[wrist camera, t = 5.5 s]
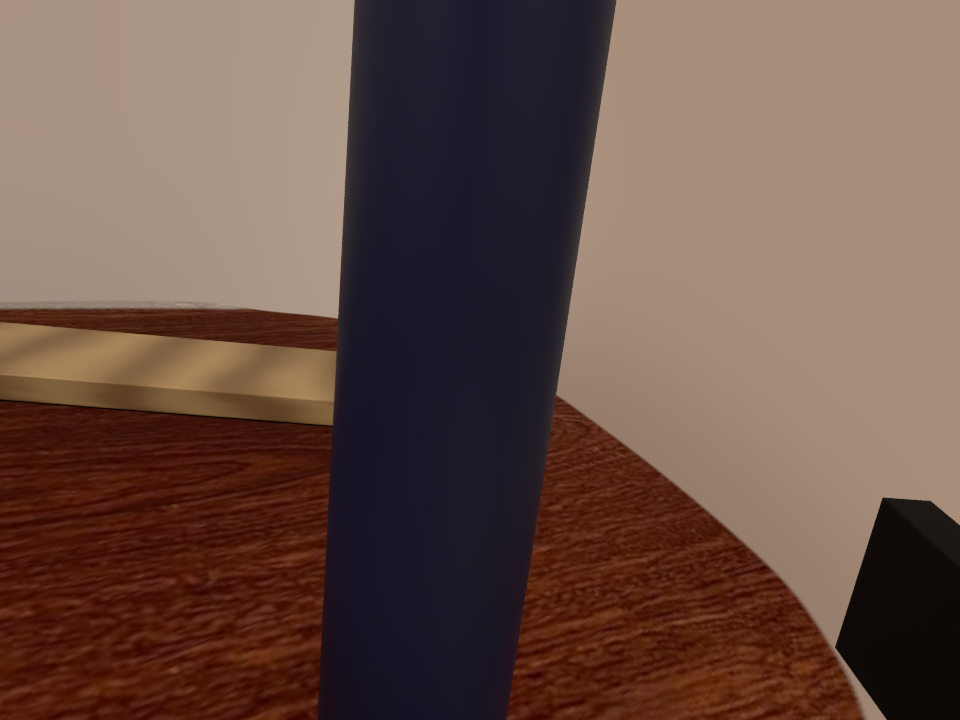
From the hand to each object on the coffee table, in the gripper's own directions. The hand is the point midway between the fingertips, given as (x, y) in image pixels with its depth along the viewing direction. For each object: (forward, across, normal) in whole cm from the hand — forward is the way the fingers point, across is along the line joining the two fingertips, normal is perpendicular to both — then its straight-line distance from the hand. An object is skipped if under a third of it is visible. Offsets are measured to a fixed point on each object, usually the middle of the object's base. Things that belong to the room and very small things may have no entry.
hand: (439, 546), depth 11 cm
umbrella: (+6, 0, -11) cm, 13 cm away
